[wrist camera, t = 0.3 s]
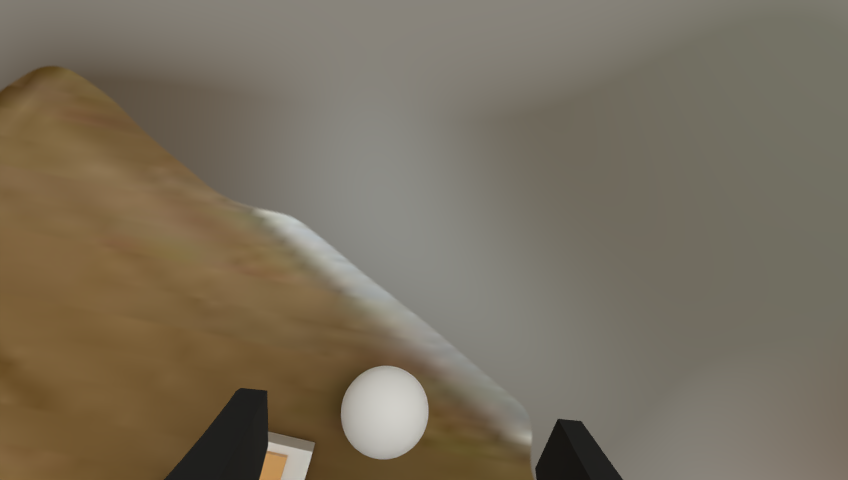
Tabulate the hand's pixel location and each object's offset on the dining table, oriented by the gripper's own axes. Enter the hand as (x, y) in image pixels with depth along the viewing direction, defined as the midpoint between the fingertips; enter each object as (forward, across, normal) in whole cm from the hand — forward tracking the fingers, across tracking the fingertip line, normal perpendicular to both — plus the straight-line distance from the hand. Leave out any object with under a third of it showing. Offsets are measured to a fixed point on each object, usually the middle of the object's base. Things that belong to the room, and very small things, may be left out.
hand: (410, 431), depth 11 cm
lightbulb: (+20, 0, +22) cm, 30 cm away
